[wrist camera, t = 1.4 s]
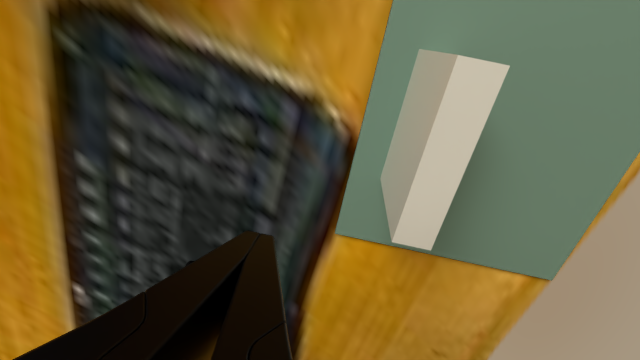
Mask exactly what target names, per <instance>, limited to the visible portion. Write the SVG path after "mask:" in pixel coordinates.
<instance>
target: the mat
mask: <svg viewBox="0 0 640 360" xmlns="http://www.w3.org/2000/svg"><path fill="white" fill-rule="evenodd" d="M419 49H423V50H430V51H436V52H442V53H449V54H455V55H461V56H466V57H470V58H475V59H480V60H485V61H490V62H495V63H500V64H504V65H509V66H510V67H509V69H508V72H507V74H506V76H505V79H504V81H503V83H502V86H501V88H500V90H499V93H498V95H497V97H496V100H495V102H494V104H493V107H492V109H491V111H490V114H489V116H488V118H487V121H486V123H485V125H484V128H483V130H482V132H481V135H480V137H479V139H478V142H477V144H476V146H475V149H474V151H473V153H472V156H471V158H470V160H469V163H468V165H467V167H466V170H465V172H464V174H463V177H462V179H461V181H460V184H459V186H458V188H457V191H456V193H455V195H454V198H453V200H452V202H451V205H450V207H449V209H448V212H447V214H446V216H445V219H444V221H443V223H442V226H441V228H440V230H439V233H438V235H437V237H436V240H435V242H434V244H433V247H432V249H431V251H430V250H426V249H421V248H416V247H412V246H407V245H403V244H398V243H393V242H392V241H391V236H390V230H389V224H388V219H387V213H386V208H385V202H384V197H383V191H382V185H381V180H380V178H381V174H382V171H383V168H384V164H385V161H386V158H387V154H388V151H389V148H390V144H391V141H392V138H393V134H394V131H395V128H396V124H397V121H398V118H399V114H400V111H401V108H402V105H403V101H404V98H405V95H406V91H407V88H408V85H409V81H410V78H411V75H412V71H413V68H414V65H415V61H416V58H417V55H418V51H419ZM639 152H640V0H393V3H392V7H391V11H390V15H389V19H388V23H387V27H386V31H385V35H384V39H383V43H382V47H381V51H380V55H379V59H378V63H377V67H376V71H375V75H374V79H373V83H372V86H371V90H370V94H369V98H368V102H367V106H366V110H365V114H364V118H363V122H362V126H361V130H360V134H359V138H358V142H357V146H356V150H355V154H354V158H353V162H352V166H351V170H350V174H349V178H348V182H347V186H346V190H345V194H344V198H343V202H342V206H341V210H340V214H339V218H338V222H337V226H336V230H335V234H340V235H344V236H349V237H354V238H358V239H363V240H367V241H372V242H377V243H381V244H386V245H391V246H395V247H400V248H404V249H409V250H414V251H418V252H423V253H427V254H432V255H437V256H441V257H446V258H451V259H455V260H460V261H464V262H469V263H474V264H478V265H483V266H488V267H492V268H497V269H501V270H506V271H511V272H515V273H520V274H524V275H529V276H534V277H538V278H543V279H548V280H553V278H554V277H555V275H556V274H557V272H558V271H559V269H560V268H561V266H562V265H563V264H564V262H565V261H566V259H567V258H568V256H569V255H570V253H571V252H572V250H573V249H574V247H575V246H576V244H577V243H578V242H579V240H580V239H581V237H582V236H583V234H584V233H585V231H586V230H587V228H588V227H589V225H590V224H591V222H592V221H593V220H594V218H595V217H596V215H597V214H598V212H599V211H600V209H601V208H602V206H603V205H604V203H605V202H606V200H607V199H608V197H609V196H610V195H611V193H612V192H613V190H614V189H615V187H616V186H617V184H618V183H619V181H620V180H621V178H622V177H623V175H624V174H625V173H626V171H627V170H628V168H629V167H630V165H631V164H632V162H633V161H634V159H635V158H636V156H637V155H638V153H639Z"/></svg>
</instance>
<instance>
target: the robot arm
mask: <svg viewBox="0 0 640 360" xmlns="http://www.w3.org/2000/svg"><path fill="white" fill-rule="evenodd" d="M13 360H293V359H292V354H291V349H290V343H289V338H288V331H287V325H286V318H285V311H284V304H283V297H282V290H281V283H280V276H279V269H278V262H277V255H276V248H275V241H274V237H273V236H271V235H266V234H260V233H257V232H253V231H245V232H243V233H242V234H240V235H238V236H236V237H235V238H233V239H231V240H230V241H228V242H226V243H225V244H223V245H221V246H220V247H218V248H216V249H214V250H213V251H211V252H209V253H208V254H206V255H204V256H203V257H201V258H199V259H198V260H196V261H189V262H188V263H187V264H186V266H185V267H184V268H182V269H181V270H179V271H177V272H176V273H174V274H172V275H171V276H169V277H167V278H165V279H164V280H162V281H160V282H159V283H157V284H155V285H154V286H152V287H150V288H149V289H147V290H146V291H145V292H142V293H140V294H138V295H137V296H135V297H133V298H131V299H130V300H128V301H126V302H124V303H123V304H121V305H119V306H117V307H116V308H114V309H112V310H110V311H109V312H107V313H105V314H103V315H101V316H99V317H97V318H95V319H93V320H91V321H89V322H87V323H86V324H84V325H82V326H80V327H78V328H76V329H74V330H72V331H70V332H68V333H66V334H64V335H62V336H60V337H58V338H55V339H53V340H51V341H49V342H47V343H45V344H43V345H41V346H39V347H37V348H35V349H33V350H31V351H29V352H27V353H25V354H23V355H21V356H19V357H17V358H15V359H13Z"/></svg>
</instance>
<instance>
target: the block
mask: <svg viewBox="0 0 640 360" xmlns="http://www.w3.org/2000/svg"><path fill="white" fill-rule="evenodd" d="M509 67H510V66H509V65H504V64H500V63H495V62H490V61H485V60H480V59H475V58H470V57H466V56H461V55H455V54H449V53H442V52H436V51H430V50H423V49H419V51H418V55H417V58H416V61H415V65H414V68H413V71H412V75H411V78H410V81H409V85H408V88H407V91H406V95H405V98H404V101H403V105H402V108H401V111H400V114H399V118H398V121H397V124H396V128H395V131H394V134H393V138H392V141H391V144H390V148H389V151H388V154H387V158H386V161H385V164H384V168H383V171H382V174H381V178H380V180H381V185H382V191H383V197H384V202H385V208H386V213H387V219H388V224H389V230H390V236H391V241H392V242H393V243H398V244H403V245H407V246H412V247H416V248H421V249H426V250H430V251H431V249H432V247H433V244H434V242H435V240H436V237H437V235H438V233H439V230H440V228H441V226H442V223H443V221H444V219H445V216H446V214H447V212H448V209H449V207H450V205H451V202H452V200H453V198H454V195H455V193H456V191H457V188H458V186H459V184H460V181H461V179H462V177H463V174H464V172H465V170H466V167H467V165H468V163H469V160H470V158H471V156H472V153H473V151H474V149H475V146H476V144H477V142H478V139H479V137H480V135H481V132H482V130H483V128H484V125H485V123H486V121H487V118H488V116H489V114H490V111H491V109H492V107H493V104H494V102H495V100H496V97H497V95H498V93H499V90H500V88H501V86H502V83H503V81H504V79H505V76H506V74H507V72H508V69H509Z"/></svg>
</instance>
